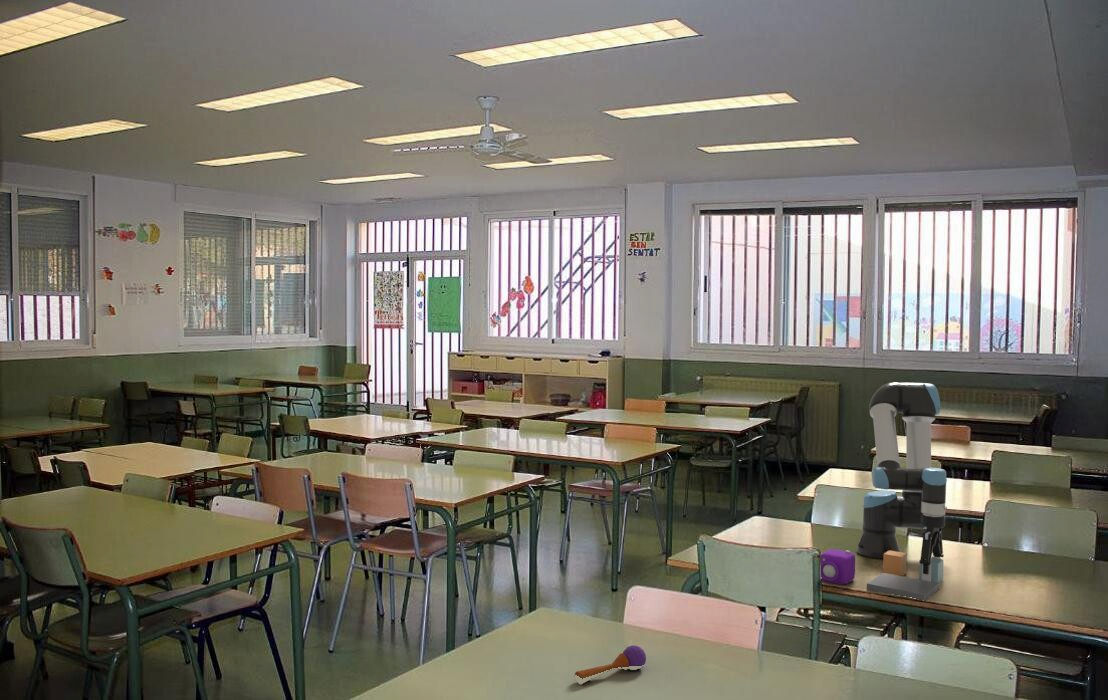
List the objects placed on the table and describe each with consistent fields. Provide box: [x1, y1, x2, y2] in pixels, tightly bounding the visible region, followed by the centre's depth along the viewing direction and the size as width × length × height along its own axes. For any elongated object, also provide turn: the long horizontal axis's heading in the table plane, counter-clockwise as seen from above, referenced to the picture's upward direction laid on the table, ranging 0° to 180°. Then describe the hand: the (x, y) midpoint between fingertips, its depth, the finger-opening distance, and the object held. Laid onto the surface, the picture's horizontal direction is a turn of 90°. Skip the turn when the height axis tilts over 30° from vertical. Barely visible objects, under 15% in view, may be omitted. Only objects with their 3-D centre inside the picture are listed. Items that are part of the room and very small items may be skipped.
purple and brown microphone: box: [574, 645, 647, 679], centre depth 218 cm, size 6×6×20 cm
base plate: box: [866, 572, 940, 602], centre depth 291 cm, size 18×16×2 cm
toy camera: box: [820, 548, 856, 585], centre depth 298 cm, size 11×14×10 cm
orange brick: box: [882, 550, 908, 576], centre depth 309 cm, size 6×6×7 cm
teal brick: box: [918, 557, 944, 584], centre depth 302 cm, size 6×6×7 cm
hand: (931, 579), depth 302 cm, fingers open, 10 cm apart
